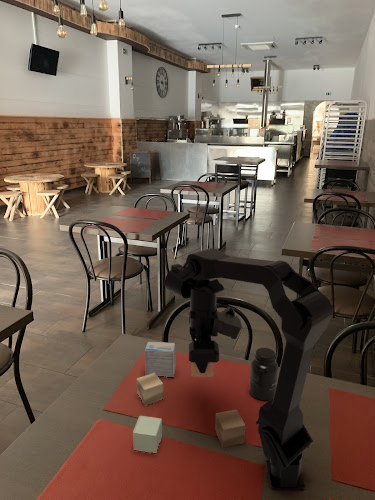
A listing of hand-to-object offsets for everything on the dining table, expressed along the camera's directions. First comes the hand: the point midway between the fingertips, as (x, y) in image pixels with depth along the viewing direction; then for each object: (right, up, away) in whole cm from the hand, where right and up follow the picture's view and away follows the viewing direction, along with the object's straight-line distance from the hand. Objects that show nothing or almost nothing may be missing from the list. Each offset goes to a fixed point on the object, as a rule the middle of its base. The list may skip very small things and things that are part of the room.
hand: (202, 365), depth 91 cm
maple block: (-13, -11, +9) cm, 19 cm away
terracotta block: (0, -1, 0) cm, 1 cm away
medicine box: (-11, -8, +19) cm, 23 cm away
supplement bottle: (+16, -10, +11) cm, 22 cm away
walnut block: (+6, -15, -3) cm, 16 cm away
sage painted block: (-12, -16, -5) cm, 20 cm away
